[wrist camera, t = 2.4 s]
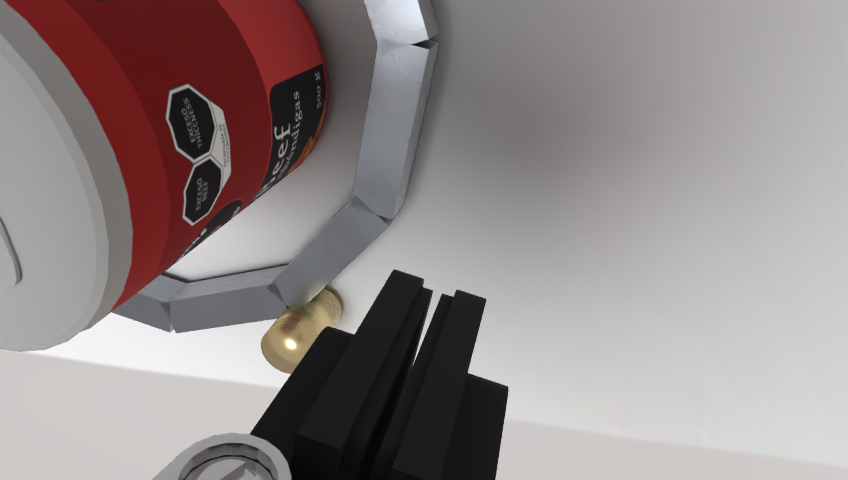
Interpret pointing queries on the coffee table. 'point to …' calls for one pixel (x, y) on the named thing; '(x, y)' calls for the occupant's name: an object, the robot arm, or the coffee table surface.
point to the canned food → (137, 142)
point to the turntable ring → (347, 231)
